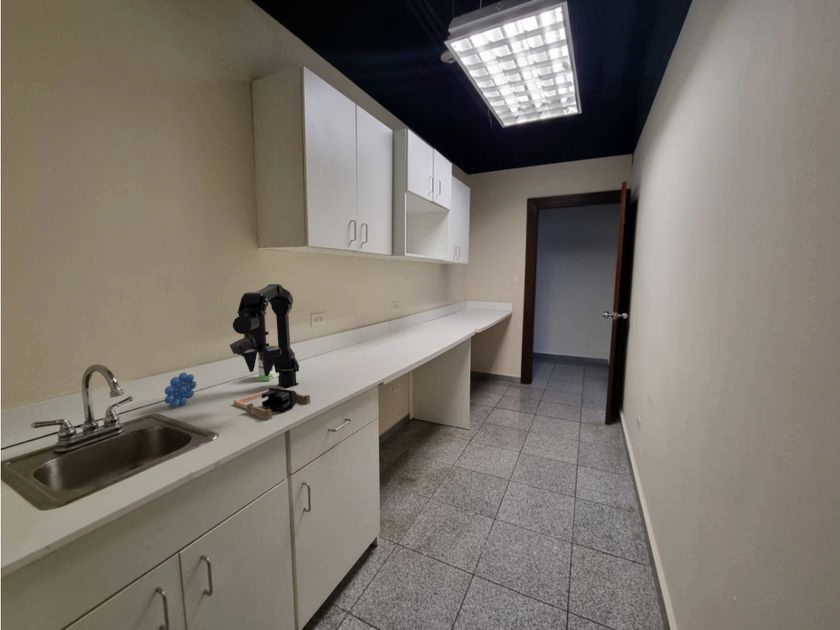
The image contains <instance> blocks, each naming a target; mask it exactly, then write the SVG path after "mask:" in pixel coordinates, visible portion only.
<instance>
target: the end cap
mask: <svg viewBox="0 0 840 630" xmlns="http://www.w3.org/2000/svg"><path fill="white" fill-rule="evenodd" d="M268 390H269V391H268V392H266V393H263V394H262V397H261V399H264V398H267V399H266V400H263V401H261V404H262V407H263V408H262V409H265V410H267V409H270V410H271V412H273V413H279V414H284V413H287V412H288V411H290V410H292V409H293V408H294V407H295V405H296V404H297V402H298V401H297V394H298V393H297V392H296V391H295V390H293V389H291V390H290V389H286V388H276V387H269V388H268Z"/></svg>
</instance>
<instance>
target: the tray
mask: <svg viewBox="0 0 840 630" xmlns="http://www.w3.org/2000/svg"><path fill="white" fill-rule="evenodd" d="M268 391H269V389H267V390H264V391H260V392H257V393H255V394H251V395H248V396H244V397H242V398H238V399H236V400H233V405H234V406H235V407H239V408H241V409H244V410H247V404H248V403H247V402H251V401H253V400H257V399H259V398H262V394H263V393H266V392H268Z"/></svg>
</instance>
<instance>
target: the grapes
mask: <svg viewBox="0 0 840 630" xmlns="http://www.w3.org/2000/svg"><path fill="white" fill-rule="evenodd" d="M194 379H195V375H193V374H187V372H181V373H180V374H179V375H178V376H174V377H172V378H171V379H170V381H169V384H170V385H168V386H166V388H165V389H164V394H165V395H166V396H165V398H164V403H165V404H168V405H169V406H170V408H172V409H174V408H177V407H178V406H180V407H182V406H185V405H186V404H187V403H188V399H191V398H193V397H194V395H195V391H194V389H195V388H196V387H197V382H196V381H195V380H194Z"/></svg>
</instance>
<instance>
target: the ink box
mask: <svg viewBox="0 0 840 630" xmlns="http://www.w3.org/2000/svg"><path fill="white" fill-rule="evenodd" d="M259 358H260V356H259V355H258V354H257V365H258V366H257V367H258V380H259V381H260V382H270V381H273V380H274V379H276V378H278V376H279V373H276V372H275V368H274V364H273V367H272V369H271V371H270V373H269V375H268V376H265V374H264V368H263V362H262V361H261V360H260V359H259Z"/></svg>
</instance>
